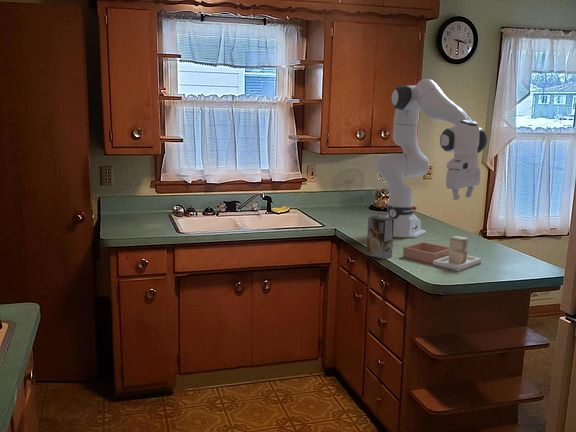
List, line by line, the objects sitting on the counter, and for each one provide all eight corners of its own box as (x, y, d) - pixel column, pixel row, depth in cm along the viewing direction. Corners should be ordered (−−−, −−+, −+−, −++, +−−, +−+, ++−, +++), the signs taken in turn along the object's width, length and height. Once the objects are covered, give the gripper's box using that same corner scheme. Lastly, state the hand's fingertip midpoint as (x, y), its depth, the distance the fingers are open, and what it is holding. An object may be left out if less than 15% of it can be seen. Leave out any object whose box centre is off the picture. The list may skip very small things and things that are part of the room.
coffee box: (392, 256, 246) (395, 218, 243) (383, 259, 241) (385, 220, 238) (375, 252, 252) (377, 215, 249) (365, 254, 248) (367, 217, 245)
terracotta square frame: (422, 250, 256) (422, 241, 256) (452, 257, 246) (453, 248, 246) (403, 256, 246) (403, 247, 246) (433, 263, 236) (434, 253, 235)
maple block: (454, 260, 239) (456, 235, 237) (466, 262, 236) (468, 238, 234) (448, 262, 236) (450, 237, 234) (459, 264, 232) (461, 239, 231)
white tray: (456, 257, 246) (456, 253, 246) (480, 263, 238) (481, 258, 238) (432, 265, 234) (433, 260, 233) (458, 271, 226) (458, 266, 226)
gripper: (471, 160, 238) (468, 194, 240) (444, 163, 223) (441, 200, 226) (485, 162, 233) (482, 196, 236) (459, 165, 219) (456, 202, 222)
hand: (462, 198), depth 231 cm, fingers open, 8 cm apart
